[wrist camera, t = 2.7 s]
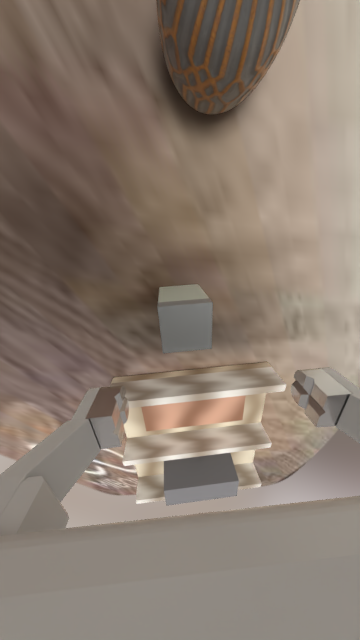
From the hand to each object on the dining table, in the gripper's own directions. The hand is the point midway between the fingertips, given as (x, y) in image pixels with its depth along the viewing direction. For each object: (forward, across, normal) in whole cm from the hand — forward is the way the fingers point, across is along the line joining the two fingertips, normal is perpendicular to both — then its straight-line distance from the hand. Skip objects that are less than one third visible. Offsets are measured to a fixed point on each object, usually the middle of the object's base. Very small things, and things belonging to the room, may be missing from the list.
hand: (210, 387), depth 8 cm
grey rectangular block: (+12, +1, 0) cm, 12 cm away
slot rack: (+12, 0, +20) cm, 23 cm away
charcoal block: (+11, 0, +25) cm, 27 cm away
